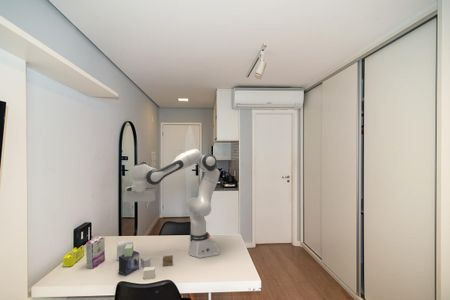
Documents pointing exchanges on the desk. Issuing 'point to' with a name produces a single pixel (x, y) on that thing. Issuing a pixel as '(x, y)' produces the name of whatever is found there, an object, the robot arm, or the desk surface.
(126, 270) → the small box
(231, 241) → the desk surface
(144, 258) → the grey brick
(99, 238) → the candy bar box
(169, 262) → the walnut brick
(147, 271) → the cream brick
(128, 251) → the sage brick
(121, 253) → the photo printer
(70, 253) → the yellow toy chassis
